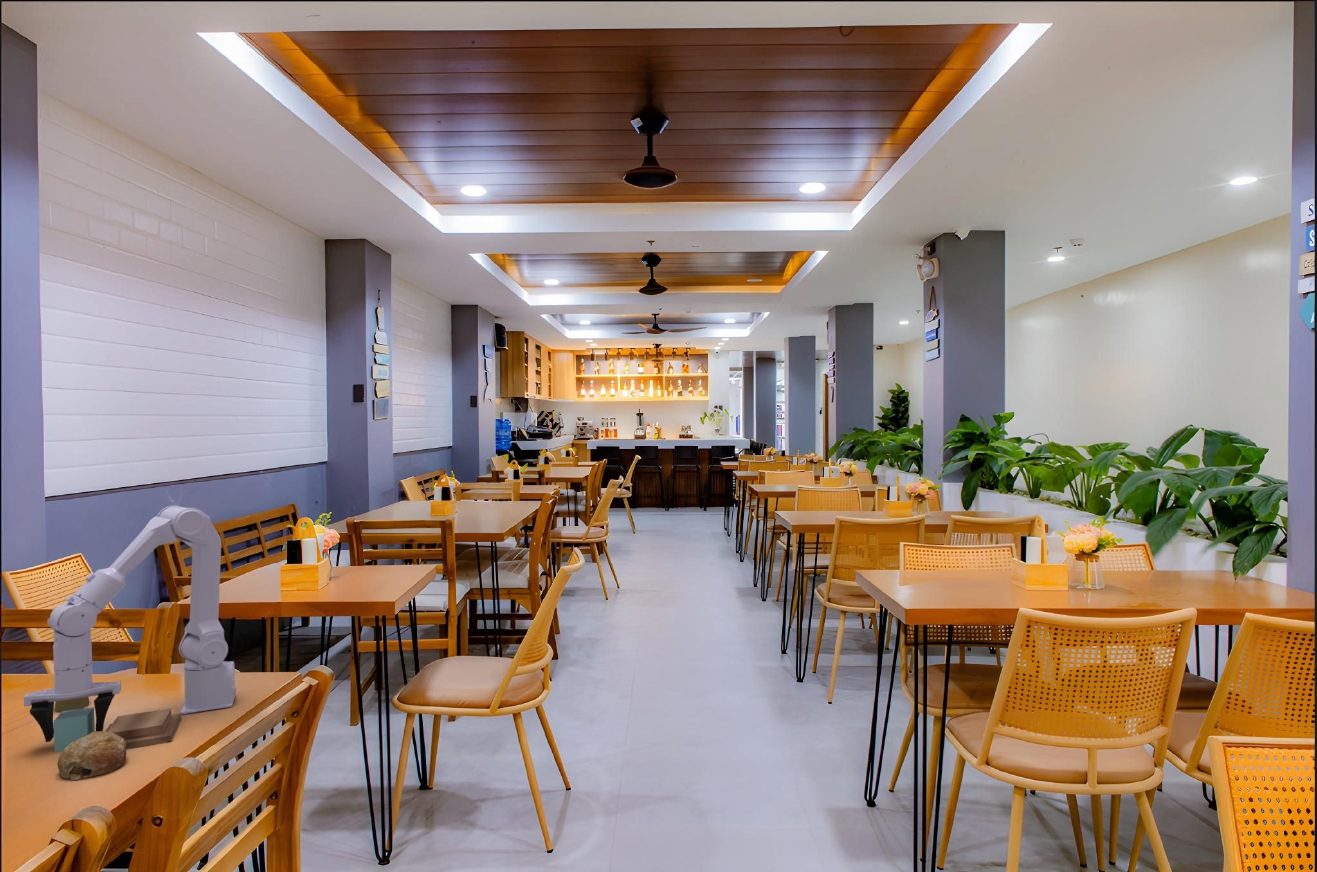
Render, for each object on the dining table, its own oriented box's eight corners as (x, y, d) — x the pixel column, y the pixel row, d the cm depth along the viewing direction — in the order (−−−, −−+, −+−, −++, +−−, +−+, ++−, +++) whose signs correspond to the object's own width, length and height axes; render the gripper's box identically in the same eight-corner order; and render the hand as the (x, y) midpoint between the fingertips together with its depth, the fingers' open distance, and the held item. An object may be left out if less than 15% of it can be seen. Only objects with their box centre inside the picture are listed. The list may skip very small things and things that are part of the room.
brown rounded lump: (53, 801, 125) (44, 768, 122) (71, 753, 133) (63, 722, 130) (122, 789, 129) (116, 757, 126) (135, 743, 137) (130, 712, 134)
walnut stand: (181, 718, 150) (180, 704, 150) (170, 741, 140) (170, 726, 139) (110, 729, 145) (110, 714, 145) (94, 754, 134) (93, 738, 134)
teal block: (94, 736, 142) (94, 706, 142) (87, 747, 138) (86, 716, 137) (62, 741, 140) (62, 711, 140) (54, 752, 135) (53, 721, 135)
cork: (69, 713, 153) (68, 662, 153) (46, 711, 155) (45, 660, 154) (97, 702, 159) (95, 653, 159) (74, 700, 160) (73, 651, 160)
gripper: (124, 654, 145) (125, 720, 145) (32, 665, 139) (34, 734, 139) (115, 664, 139) (117, 734, 139) (18, 676, 133) (20, 749, 133)
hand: (75, 735), depth 139 cm, fingers open, 7 cm apart
